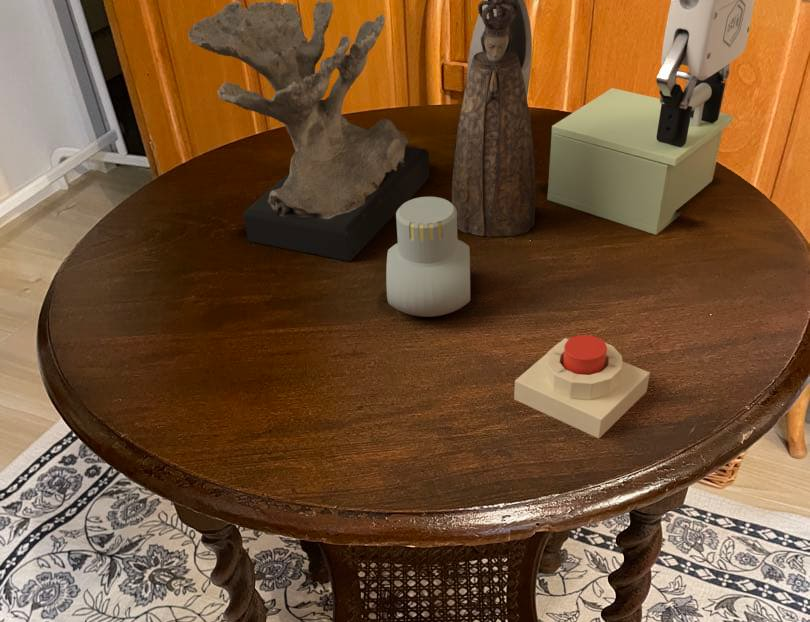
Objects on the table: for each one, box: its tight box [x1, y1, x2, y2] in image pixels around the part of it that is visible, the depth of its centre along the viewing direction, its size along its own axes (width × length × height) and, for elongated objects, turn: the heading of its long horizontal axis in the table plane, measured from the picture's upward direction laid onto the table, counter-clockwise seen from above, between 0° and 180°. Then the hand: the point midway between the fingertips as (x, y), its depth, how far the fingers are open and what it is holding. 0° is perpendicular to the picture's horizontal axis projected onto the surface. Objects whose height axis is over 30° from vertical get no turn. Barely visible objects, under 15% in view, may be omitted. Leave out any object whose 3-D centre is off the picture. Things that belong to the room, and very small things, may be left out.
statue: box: [451, 0, 536, 238], centre depth 90 cm, size 9×8×25 cm
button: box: [563, 334, 607, 375], centre depth 75 cm, size 4×4×2 cm
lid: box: [551, 83, 734, 166], centre depth 95 cm, size 15×13×5 cm
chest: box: [546, 129, 724, 236], centre depth 100 cm, size 15×13×8 cm
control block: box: [513, 337, 651, 439], centre depth 77 cm, size 9×8×4 cm
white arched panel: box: [465, 0, 533, 96], centre depth 105 cm, size 18×7×19 cm, turn 164°
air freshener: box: [385, 196, 471, 318], centre depth 86 cm, size 11×8×10 cm
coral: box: [188, 0, 430, 262], centre depth 97 cm, size 25×20×22 cm
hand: (687, 129), depth 93 cm, fingers open, 6 cm apart
